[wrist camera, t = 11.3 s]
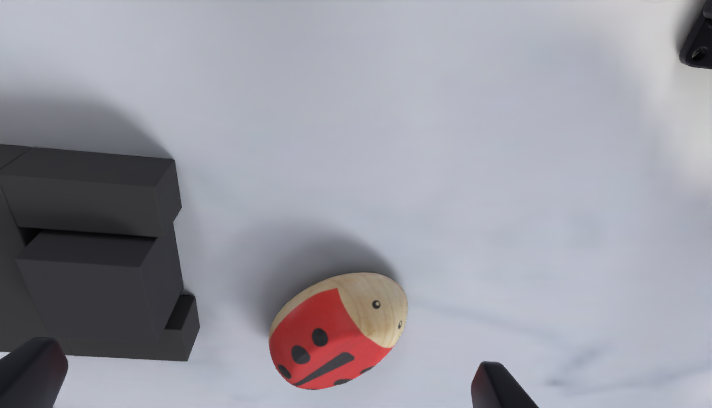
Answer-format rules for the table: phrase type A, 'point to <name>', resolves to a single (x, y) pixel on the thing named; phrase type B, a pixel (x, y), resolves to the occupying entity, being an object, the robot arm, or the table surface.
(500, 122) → the table surface
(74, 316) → the black block
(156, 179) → the notched pad
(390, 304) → the ladybug figurine
